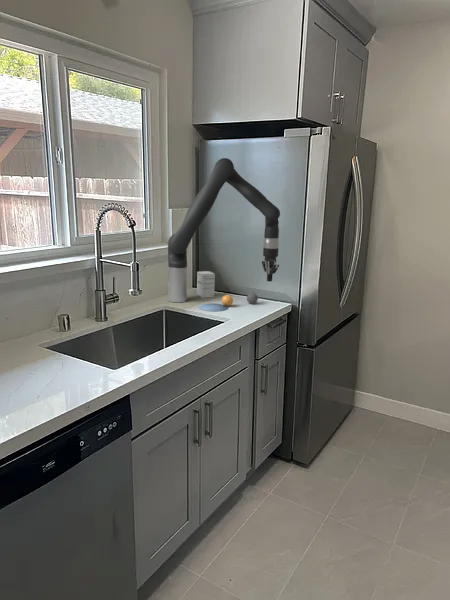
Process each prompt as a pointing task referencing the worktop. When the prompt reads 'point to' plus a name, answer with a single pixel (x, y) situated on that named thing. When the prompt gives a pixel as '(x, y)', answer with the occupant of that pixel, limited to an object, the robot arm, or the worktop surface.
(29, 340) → the worktop surface
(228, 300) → the orange ball
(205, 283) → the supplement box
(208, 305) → the blue mark
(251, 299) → the gray ball
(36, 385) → the worktop surface
